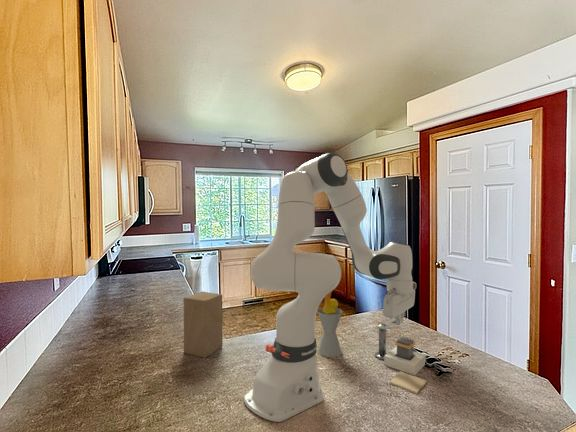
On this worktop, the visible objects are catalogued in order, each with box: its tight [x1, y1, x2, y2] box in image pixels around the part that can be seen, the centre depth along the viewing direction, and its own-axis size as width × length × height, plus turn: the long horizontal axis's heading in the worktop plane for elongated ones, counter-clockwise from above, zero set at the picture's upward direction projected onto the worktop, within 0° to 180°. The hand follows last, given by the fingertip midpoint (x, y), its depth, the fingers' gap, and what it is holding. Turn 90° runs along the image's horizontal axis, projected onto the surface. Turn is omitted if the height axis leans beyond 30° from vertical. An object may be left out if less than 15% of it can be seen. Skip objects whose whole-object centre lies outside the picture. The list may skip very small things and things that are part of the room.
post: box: [374, 329, 388, 361], centre depth 108 cm, size 5×5×10 cm
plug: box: [394, 336, 416, 360], centre depth 103 cm, size 5×5×8 cm
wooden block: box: [183, 291, 223, 359], centre depth 113 cm, size 10×10×20 cm
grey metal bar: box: [377, 318, 395, 331], centre depth 112 cm, size 15×3×2 cm, turn 134°
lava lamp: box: [317, 254, 343, 358], centre depth 112 cm, size 9×9×35 cm
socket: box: [383, 345, 427, 376], centre depth 103 cm, size 10×10×3 cm
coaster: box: [389, 370, 428, 395], centre depth 92 cm, size 8×8×1 cm
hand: (399, 323), depth 113 cm, fingers closed
